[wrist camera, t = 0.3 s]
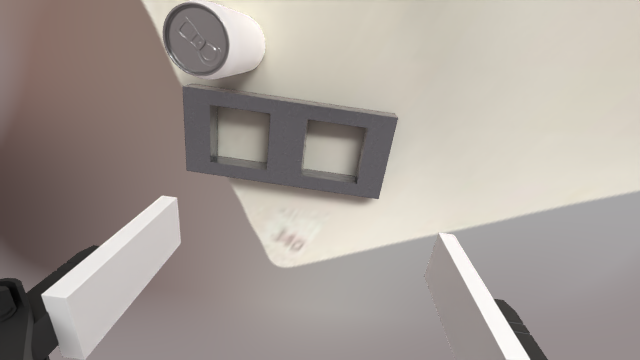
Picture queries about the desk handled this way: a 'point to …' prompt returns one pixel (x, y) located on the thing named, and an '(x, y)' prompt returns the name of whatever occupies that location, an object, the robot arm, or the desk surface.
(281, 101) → the holder
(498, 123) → the desk surface
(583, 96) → the desk surface
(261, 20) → the desk surface
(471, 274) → the robot arm
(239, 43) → the can
